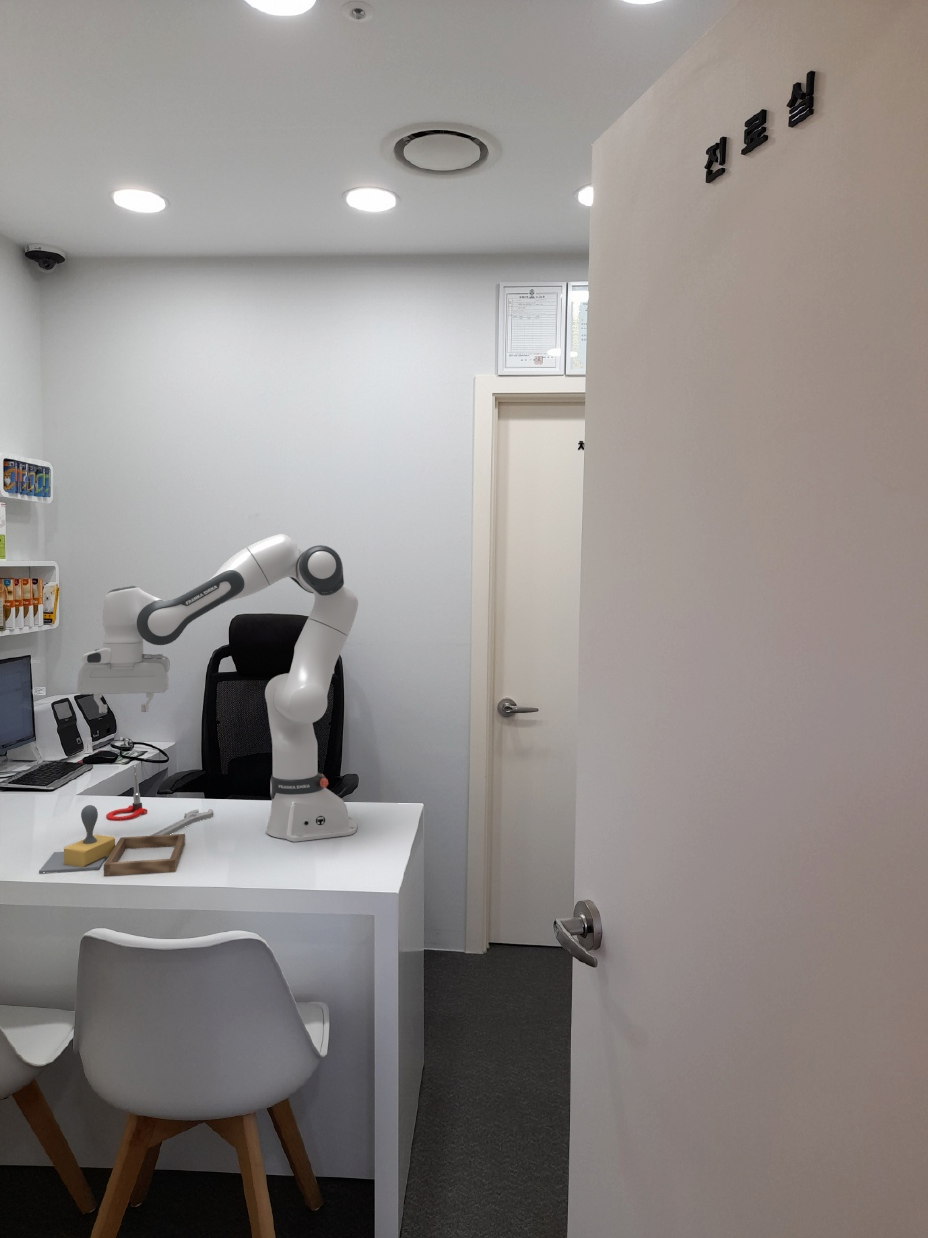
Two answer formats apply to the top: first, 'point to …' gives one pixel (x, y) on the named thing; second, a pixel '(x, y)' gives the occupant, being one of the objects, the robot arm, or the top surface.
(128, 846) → the wooden frame
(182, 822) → the adjustable wrench
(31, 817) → the top surface
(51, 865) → the slate mat
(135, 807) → the tow hook
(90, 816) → the rubber stamp
